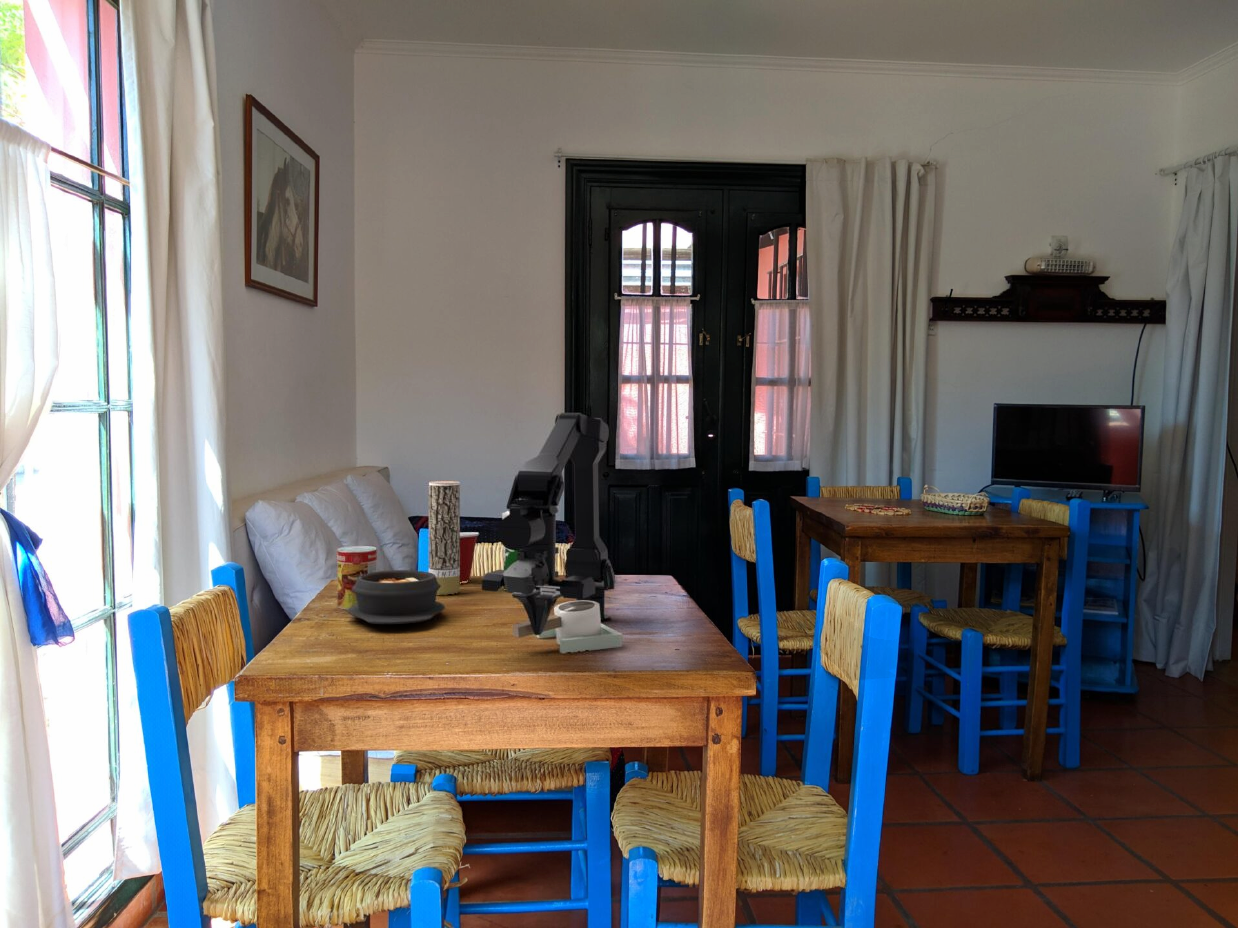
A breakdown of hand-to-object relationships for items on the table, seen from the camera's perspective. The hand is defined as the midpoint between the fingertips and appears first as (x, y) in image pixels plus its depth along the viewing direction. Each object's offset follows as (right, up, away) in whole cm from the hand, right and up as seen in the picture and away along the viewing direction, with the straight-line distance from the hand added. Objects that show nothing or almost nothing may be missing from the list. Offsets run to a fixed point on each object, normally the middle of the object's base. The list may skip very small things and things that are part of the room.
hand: (537, 634), depth 150 cm
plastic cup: (-25, 0, +64) cm, 69 cm away
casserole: (-30, -2, +26) cm, 39 cm away
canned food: (-41, -1, +36) cm, 55 cm away
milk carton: (-9, 0, +57) cm, 57 cm away
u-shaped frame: (+6, -3, +8) cm, 10 cm away
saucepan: (+3, -3, +5) cm, 7 cm away
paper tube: (-26, -1, +51) cm, 57 cm away
